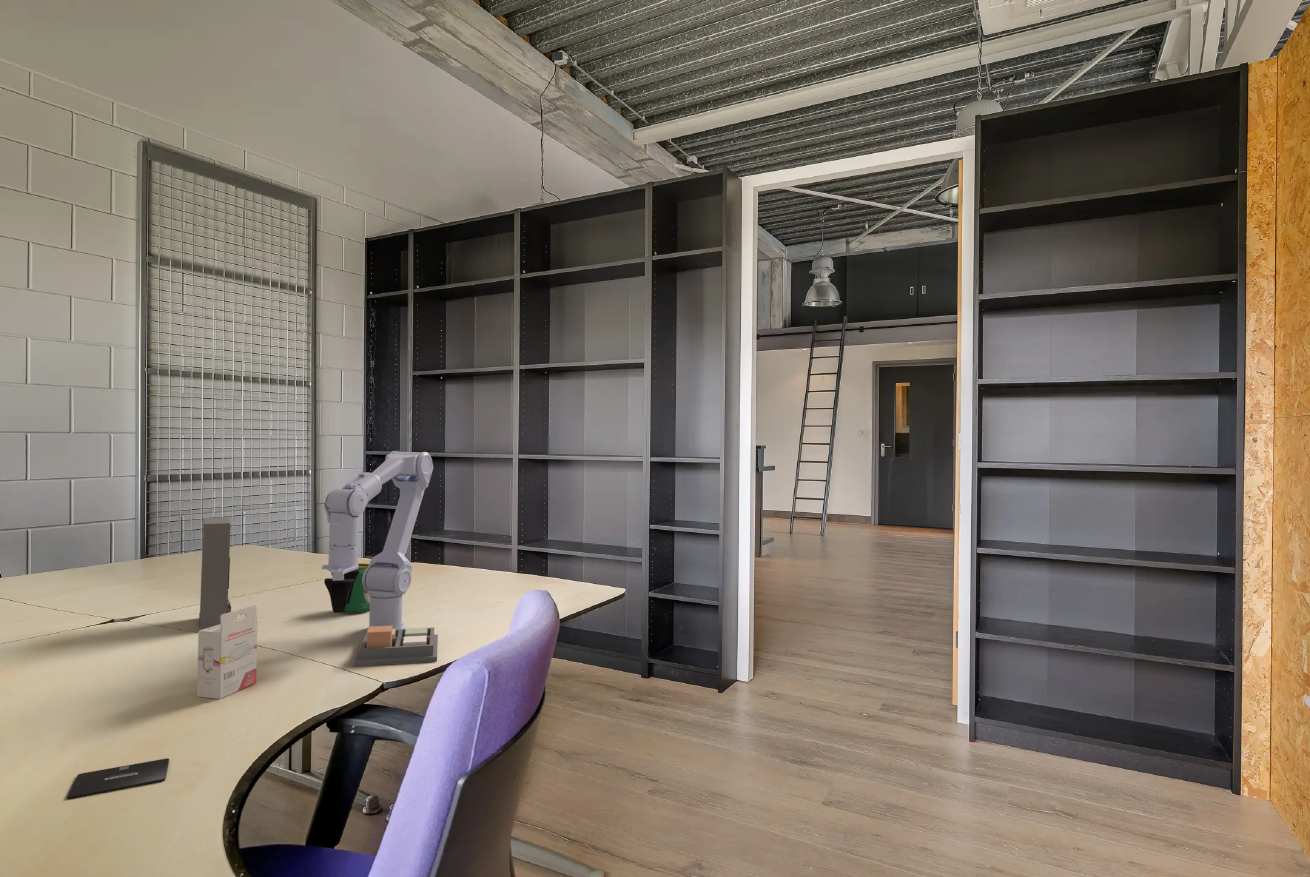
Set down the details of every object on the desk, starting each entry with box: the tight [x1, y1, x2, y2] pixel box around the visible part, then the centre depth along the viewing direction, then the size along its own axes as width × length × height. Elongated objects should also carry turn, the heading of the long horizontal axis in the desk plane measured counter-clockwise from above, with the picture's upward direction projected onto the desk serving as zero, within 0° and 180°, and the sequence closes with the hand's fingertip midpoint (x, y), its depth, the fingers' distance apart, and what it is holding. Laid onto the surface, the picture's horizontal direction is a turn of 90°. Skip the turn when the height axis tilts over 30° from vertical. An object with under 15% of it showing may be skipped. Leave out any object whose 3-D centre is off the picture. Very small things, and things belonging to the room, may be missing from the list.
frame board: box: [353, 627, 439, 667], centre depth 148 cm, size 17×16×4 cm
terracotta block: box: [366, 626, 393, 648], centre depth 144 cm, size 5×5×5 cm
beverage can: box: [341, 563, 370, 615], centre depth 182 cm, size 8×8×12 cm
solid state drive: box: [66, 757, 170, 800], centre depth 91 cm, size 7×10×1 cm
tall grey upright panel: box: [198, 517, 232, 630], centre depth 166 cm, size 14×6×25 cm, turn 34°
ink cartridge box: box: [196, 604, 259, 700], centre depth 123 cm, size 9×5×15 cm, turn 168°
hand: (341, 607), depth 147 cm, fingers open, 7 cm apart
